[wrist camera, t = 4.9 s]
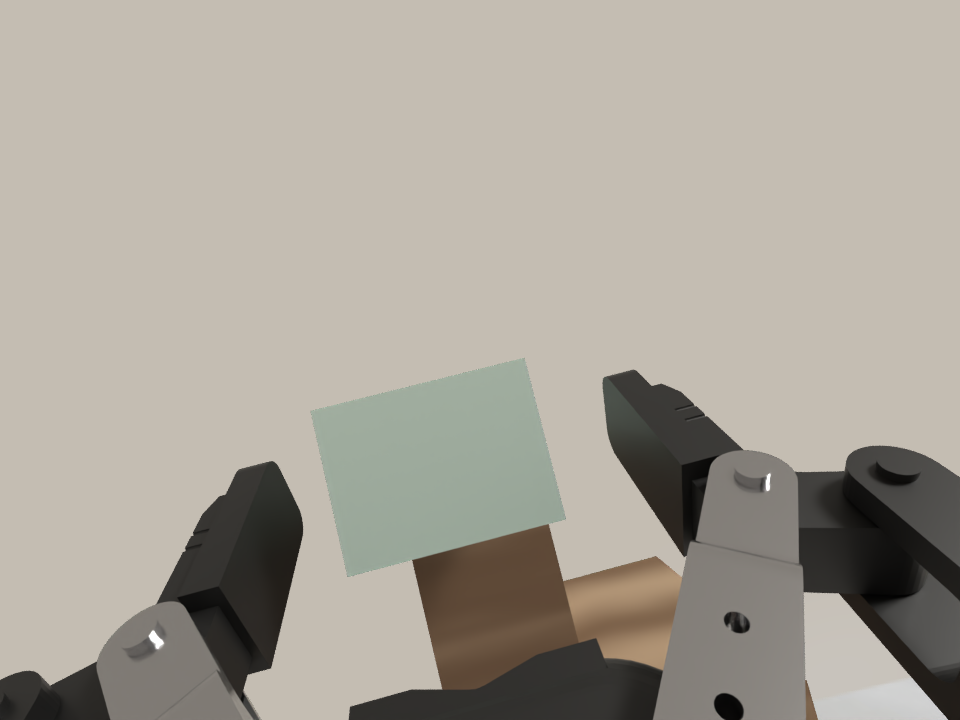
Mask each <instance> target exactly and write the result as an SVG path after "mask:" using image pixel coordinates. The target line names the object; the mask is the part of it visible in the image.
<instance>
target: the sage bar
mask: <svg viewBox="0 0 960 720" xmlns="http://www.w3.org/2000/svg"><path fill="white" fill-rule="evenodd" d="M311 415H312V420H313V424H314V429H315V433H316V438H317V442H318V446H319V451H320V455H321V460H322V464H323V469H324V474H325V478H326V482H327V487H328V491H329V496H330V500H331V505H332V509H333V514H334V518H335V523H336V527H337V532H338V536H339V541H340V545H341V549H342V554H343V558H344V563H345V568H346V572H347V576H348V577H350V576H354V575H357V574H361V573H365V572H369V571H372V570H376V569H380V568H384V567H388V566H391V565H395V564H399V563H402V562H406V561H410V560H414V559H418V558H422V557H425V556H429V555H433V554H437V553H441V552H444V551H448V550H452V549H456V548H459V547H463V546H467V545H471V544H475V543H478V542H482V541H486V540H490V539H493V538H497V537H501V536H505V535H509V534H512V533H516V532H520V531H524V530H528V529H531V528H535V527H539V526H543V525H546V524H550V523H554V522H558V521H562V520H565V519H566V517H565V514H564V509H563V505H562V502H561V498H560V494H559V490H558V486H557V482H556V479H555V474H554V471H553V467H552V463H551V459H550V455H549V451H548V447H547V443H546V440H545V436H544V432H543V428H542V424H541V420H540V416H539V413H538V409H537V405H536V401H535V397H534V393H533V389H532V385H531V381H530V378H529V374H528V370H527V366H526V362H525V358H522V359H518V360H515V361H510V362H506V363H502V364H498V365H494V366H490V367H486V368H482V369H478V370H474V371H470V372H466V373H462V374H458V375H454V376H450V377H446V378H442V379H438V380H434V381H430V382H425V383H422V384H417V385H414V386H409V387H406V388H401V389H397V390H393V391H389V392H385V393H381V394H377V395H373V396H369V397H365V398H361V399H357V400H353V401H349V402H345V403H341V404H337V405H333V406H329V407H325V408H321V409H317V410H313V411H311Z"/></svg>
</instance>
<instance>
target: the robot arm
mask: <svg viewBox="0 0 960 720" xmlns="http://www.w3.org/2000/svg"><path fill="white" fill-rule="evenodd" d="M603 394H604V403H605V412H606V423H607V431H608V436H609V440H610V443H611V446H612V448H613V451H614V453H615V454H616V456H617V458H618V459H619V460H620V462H621V464H622V465H623V467H624V468H625V469H626V471H627V473H628V474H629V475H630V477H631V479H632V480H633V481H634V483H635V485H636V486H637V488H638V489H639V491H640V492H641V494H642V495H643V496H644V498H645V500H646V501H647V503H648V504H649V506H650V507H651V509H652V510H653V511H654V513H655V515H656V516H657V518H658V519H659V520H660V522H661V523H662V525H663V526H664V528H665V529H666V531H667V532H668V534H669V535H670V537H671V538H672V540H673V541H674V543H675V544H676V546H677V547H678V549H679V550H680V552H681V553H682V555H683V556H684V557H685V556H687V557H686V563H685V567H684V572H683V577H682V582H681V586H680V591H679V596H678V601H677V606H676V611H675V616H674V620H673V625H672V630H671V635H670V640H669V645H668V650H667V654H666V659H665V664H664V669H663V670H661V669H658V668H655V667H653V666H650V665H647V664H644V663H640V662H636V661H632V660H625V659H617V658H604V656H603V654H602V651H601V649H600V646H599V644H598V641H597V638H594V639H591V640H587V641H584V642H580V643H576V644H573V645H569V646H566V647H562V648H559V649H555V650H551V651H548V652H544V653H541V654H537V655H535V656H534V657H532V658H530V659H528V660H527V661H525V662H523V663H522V664H520V665H518V666H516V667H515V668H513V669H511V670H510V671H508V672H506V673H504V674H503V675H501V676H499V677H498V678H496V679H494V680H493V681H491V682H489V683H487V684H486V685H484V686H482V687H480V688H477V689H471V690H409V691H405V692H401V693H398V694H394V695H391V696H387V697H384V698H380V699H377V700H373V701H369V702H366V703H363V704H359V705H355V706H352V707H350V713H349V720H806V694H805V643H804V595H803V594H804V592H813V593H839V594H840V595H841V596H842V598H843V599H844V600H845V601H846V602H847V603H848V604H849V605H850V607H851V608H852V609H853V610H854V611H855V613H856V614H857V615H858V616H859V617H860V618H861V619H862V621H863V622H864V623H865V624H866V625H867V626H868V628H869V629H870V630H871V631H872V632H873V633H874V634H875V636H876V637H877V638H878V639H879V640H880V641H881V643H882V644H883V645H884V646H885V647H886V648H887V649H888V651H889V652H890V653H891V654H892V655H893V656H894V658H895V659H896V660H897V661H898V662H899V663H900V664H901V665H902V667H903V668H904V669H905V670H906V671H907V673H908V674H909V675H910V676H911V677H912V678H913V679H914V681H915V682H916V683H917V684H918V685H919V686H920V688H921V689H922V690H923V691H924V692H925V693H926V694H927V696H928V697H929V698H930V699H931V700H932V701H933V703H934V704H935V705H936V706H937V707H938V708H939V710H940V711H941V712H942V713H943V714H944V715H945V716H946V718H947V719H948V720H960V477H959V476H957V475H955V474H954V473H953V472H951V471H950V470H948V469H947V468H945V467H944V466H942V465H941V464H939V463H938V462H936V461H934V460H933V459H931V458H929V457H927V456H925V455H922V454H920V453H917V452H914V451H911V450H907V449H903V448H898V447H891V446H869V447H864V448H860V449H858V450H855V451H854V452H852V453H851V454H850V455H849V456H848V458H847V461H846V467H845V471H839V472H794V470H793V469H792V468H791V467H790V466H789V465H788V464H787V463H785V462H783V461H782V460H780V459H779V458H777V457H774V456H772V455H769V454H766V453H762V452H757V451H749V450H743V449H742V448H741V447H740V446H739V445H737V443H735V442H734V441H733V440H732V439H731V438H730V437H729V436H728V435H727V434H726V433H725V432H724V431H723V430H721V429H720V428H719V427H718V426H717V425H716V424H715V423H714V422H713V421H712V420H711V419H710V418H709V417H705V414H704V413H703V412H702V411H701V410H700V409H699V408H698V407H697V406H696V407H695V406H694V404H693V403H692V402H691V401H690V400H689V399H688V398H687V397H686V396H684V394H683V393H681V392H680V391H678V390H675V389H673V388H670V387H668V386H666V385H663V384H658V385H654V386H651V385H650V384H649V383H648V382H647V381H646V380H645V379H644V378H643V377H642V376H641V375H640V374H639V373H638V372H637V371H636V370H630V371H626V372H623V373H619V374H615V375H611V376H607V377H604V378H603ZM193 535H194V536H191V538H190V539H189V541H188V543H187V546H186V547H185V549H186V551H185V552H183V553H182V555H181V557H180V559H179V561H178V563H177V565H176V567H175V569H174V571H173V573H172V575H171V576H170V578H169V581H168V582H167V584H166V586H165V588H164V590H163V592H162V594H161V596H160V598H159V600H158V602H157V604H156V605H154V606H151V607H149V608H147V609H145V610H143V611H141V612H140V613H138V614H136V615H135V616H133V617H132V618H131V619H129V620H128V621H127V622H125V623H124V624H123V625H122V626H121V627H120V628H119V629H118V630H117V631H116V632H115V633H114V634H113V635H112V636H111V638H110V639H109V640H108V641H107V643H106V644H105V645H104V647H103V649H102V651H101V652H100V654H99V657H98V660H97V662H95V663H93V664H91V665H89V666H88V667H86V668H84V669H82V670H80V671H78V672H76V673H74V674H72V675H70V676H68V677H66V678H64V679H62V680H60V681H58V682H56V683H55V684H53V685H51V686H50V685H49V684H48V683H47V682H46V681H45V680H44V679H43V678H42V677H41V676H40V675H39V674H38V673H36V672H34V671H23V672H19V673H15V674H13V675H10V676H8V677H5V678H3V679H1V680H0V720H261V719H260V717H259V715H258V713H257V712H256V710H255V708H254V707H253V705H252V703H251V701H250V700H249V698H248V697H247V695H246V694H245V692H244V691H243V689H244V685H245V682H246V678H247V675H248V674H252V673H255V672H259V671H263V670H267V669H270V668H271V666H272V662H273V658H274V654H275V650H276V645H277V641H278V637H279V633H280V629H281V624H282V620H283V616H284V612H285V608H286V603H287V599H288V595H289V591H290V587H291V583H292V578H293V574H294V570H295V566H296V561H297V557H298V553H299V549H300V545H301V541H302V536H303V522H302V517H301V513H300V510H299V508H298V506H297V504H296V502H295V500H294V498H293V495H292V493H291V492H290V489H289V487H288V485H287V483H286V481H285V479H284V477H283V475H282V473H281V471H280V469H279V467H278V465H277V464H276V463H275V462H273V461H271V462H266V463H262V464H258V465H254V466H250V467H246V468H242V469H239V470H238V471H237V473H236V474H235V477H234V479H233V481H232V483H231V485H230V487H229V489H228V491H227V493H226V495H223V496H220V497H218V498H217V499H216V501H215V502H214V503H213V504H212V505H211V506H210V507H209V508H208V509H207V510H206V511H205V512H204V513H203V514H202V516H201V518H200V520H199V522H198V524H197V526H196V528H195V530H194V532H193Z"/></svg>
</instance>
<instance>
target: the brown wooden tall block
mask: <svg viewBox="0 0 960 720" xmlns="http://www.w3.org/2000/svg"><path fill="white" fill-rule="evenodd" d="M412 561H413V565H414V570H415V574H416V578H417V582H418V587H419V591H420V595H421V600H422V604H423V608H424V612H425V617H426V621H427V625H428V630H429V634H430V638H431V642H432V647H433V651H434V655H435V660H436V664H437V668H438V673H439V677H440V681H441V685H442V690H471V689H477V688H480V687H482V686H484V685H486V684H487V683H489V682H491V681H493V680H494V679H496V678H498V677H499V676H501V675H503V674H504V673H506V672H508V671H510V670H511V669H513V668H515V667H516V666H518V665H520V664H522V663H523V662H525V661H527V660H528V659H530V658H532V657H534V656H535V655H537V654H541V653H544V652H548V651H551V650H555V649H559V648H562V647H566V646H569V645H573V644H576V643H580V642H584V641H587V640H591V639H594V638H597V641H598V644H599V646H600V649H601V651H602V654H603V656H604V658H617V659H625V660H632V661H636V662H640V663H644V664H647V665H650V666H653V667H655V668H658V669H661V670H663V669H664V664H665V659H666V654H667V650H668V645H669V640H670V635H671V630H672V625H673V620H674V616H675V611H676V606H677V601H678V596H679V591H680V586H681V582H682V577H681V576H679V575H678V574H677V573H676V572H675V571H673V570H672V569H671V568H670V567H669V566H667V565H666V564H665V563H664V562H663V561H661V560H660V559H659V558H658V557H656V556H655V557H652V558H648V559H644V560H641V561H637V562H633V563H629V564H626V565H622V566H618V567H615V568H611V569H607V570H603V571H600V572H596V573H592V574H589V575H585V576H582V577H578V578H574V579H570V580H566V581H563V579H562V575H561V571H560V567H559V563H558V560H557V555H556V551H555V548H554V544H553V540H552V536H551V532H550V528H549V524H546V525H543V526H539V527H535V528H531V529H528V530H524V531H520V532H516V533H512V534H509V535H505V536H501V537H497V538H493V539H490V540H486V541H482V542H478V543H475V544H471V545H467V546H463V547H459V548H456V549H452V550H448V551H444V552H441V553H437V554H433V555H429V556H425V557H422V558H418V559H414V560H412ZM805 694H806V720H818V718H817V715H816V711H815V708H814V704H813V701H812V697H811V694H810V690H809V687H808V684H807V681H806V680H805Z"/></svg>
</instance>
